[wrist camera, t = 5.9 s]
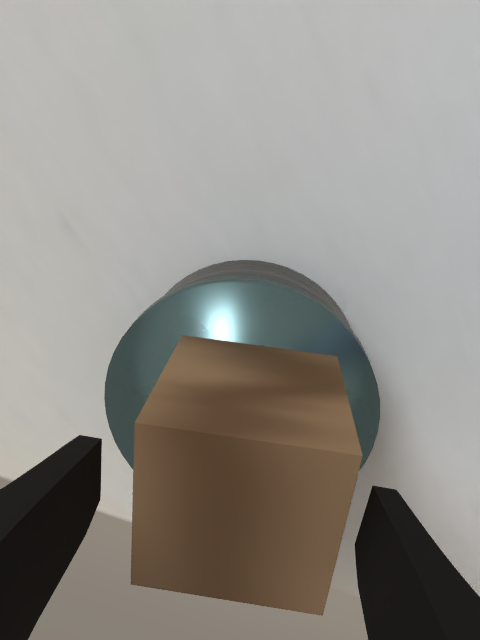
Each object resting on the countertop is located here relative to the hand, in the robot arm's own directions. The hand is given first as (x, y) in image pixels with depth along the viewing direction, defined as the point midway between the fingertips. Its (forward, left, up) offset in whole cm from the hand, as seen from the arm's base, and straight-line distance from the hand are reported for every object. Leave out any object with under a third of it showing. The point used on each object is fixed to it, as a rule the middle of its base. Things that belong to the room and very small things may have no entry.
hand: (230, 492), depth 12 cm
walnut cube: (0, 0, -4) cm, 4 cm away
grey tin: (0, 0, -8) cm, 8 cm away
